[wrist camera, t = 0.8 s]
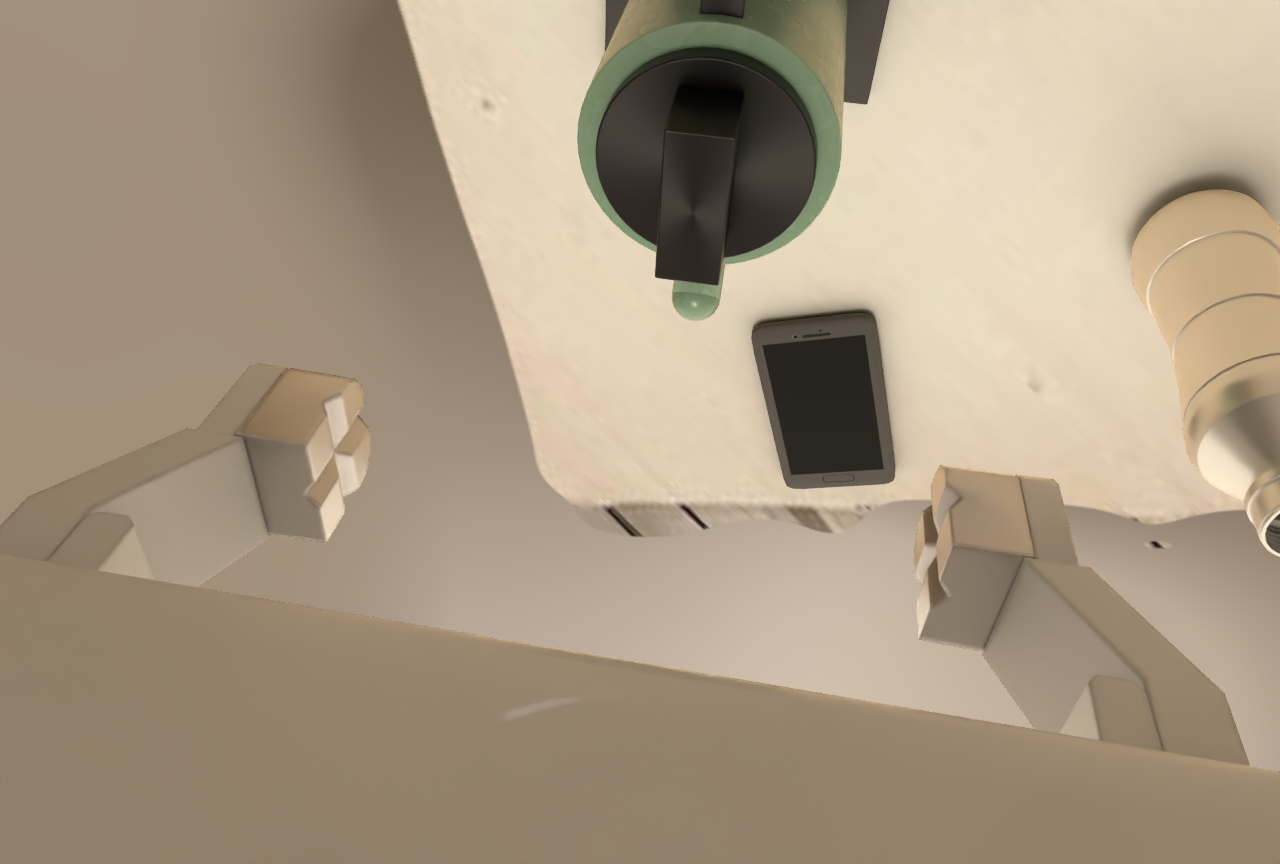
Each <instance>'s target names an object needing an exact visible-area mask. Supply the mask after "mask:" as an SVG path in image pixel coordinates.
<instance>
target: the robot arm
mask: <svg viewBox="0 0 1280 864" xmlns="http://www.w3.org/2000/svg"><path fill="white" fill-rule="evenodd" d="M364 404H365V400H364V394H363V389H362V384H361V383H359V382H358V381H357V380H356V379H353V378H346V377H341V376H335V375H329V374H323V373H317V372H311V371H305V370H300V369H294V368H290V369H288V368H285V367H278V366H272V365H266V364H261V363H258V364H255V365H252V366H249V367H248V368H247V370H246V371H245V372H244V373H243V374H242V376H241V377H240V378H239V380H237V382H236V383H235V384H234V385H233V387H232V388H231V389H230V390H229V391H228V393H227V394H226V395H225V396H224V397H223V399H222V400H221V401H220V402H219V403H218V405H217V406H216V407H215V408H214V409H213V411H212V412H211V413H210V414H209V415H208V417H207V418H206V419H205V420H204V422H203V423H202V424H201V425H200V426H199V427H198V429H197V430H194V429H188V428H186V429H184V430H182V431H179V432H177V433H175V434H173V435H170V436H168V437H166V438H163V439H161V440H159V441H156V442H154V443H152V444H150V445H147V446H145V447H142V448H140V449H138V450H135V451H133V452H131V453H128V454H126V455H124V456H121V457H119V458H117V459H114V460H112V461H110V462H107V463H105V464H103V465H101V466H98V467H96V468H94V469H91V470H89V471H87V472H84V473H82V474H80V475H77V476H75V477H73V478H70V479H68V480H66V481H63V482H61V483H59V484H57V485H54V486H52V487H49V488H48V489H45V490H42V491H40V492H38V493H36V494H33V495H31V496H29V497H27V498H26V499H25V501H23V502H22V503H21V504H20V506H19V507H18V508H17V509H16V510H15V511H14V512H13V513H12V514H11V515H10V516H9V517H8V518H7V519H6V520H5V521H4V522H3V523H2V524H1V525H0V864H1280V771H1277V770H1272V769H1265V768H1259V767H1253V766H1250V764H1249V762H1248V759H1247V756H1246V753H1245V750H1244V747H1243V744H1242V742H1241V739H1240V736H1239V733H1238V730H1237V727H1236V724H1235V722H1234V719H1233V716H1232V713H1231V710H1230V707H1229V705H1228V702H1227V699H1226V696H1225V694H1224V693H1223V692H1222V691H1221V690H1220V689H1219V688H1218V687H1217V686H1216V685H1215V684H1214V683H1213V682H1212V681H1211V680H1210V679H1209V678H1207V677H1206V676H1205V675H1204V674H1203V673H1202V672H1201V671H1200V670H1199V669H1198V668H1197V667H1196V666H1195V665H1194V664H1192V663H1191V662H1190V661H1189V660H1188V659H1187V658H1186V657H1185V656H1184V655H1183V654H1182V653H1181V652H1180V651H1179V650H1178V649H1177V648H1175V647H1174V646H1173V645H1172V644H1171V643H1170V642H1169V641H1168V640H1167V639H1166V638H1165V637H1164V636H1163V635H1162V634H1161V633H1160V632H1158V631H1157V630H1156V629H1155V628H1154V627H1153V626H1152V625H1151V624H1150V623H1149V622H1148V621H1147V620H1146V619H1145V618H1144V617H1142V616H1141V615H1140V614H1139V613H1138V612H1137V611H1136V610H1135V609H1134V608H1133V607H1132V606H1131V605H1129V603H1128V602H1126V601H1125V600H1124V599H1123V598H1122V597H1121V596H1120V595H1119V594H1118V593H1117V592H1116V591H1115V590H1114V589H1113V588H1112V587H1110V586H1109V585H1108V584H1107V583H1106V582H1105V581H1104V580H1103V579H1102V578H1101V577H1100V576H1099V575H1098V574H1097V573H1095V572H1094V571H1093V570H1092V569H1091V568H1090V567H1084V566H1079V563H1078V559H1077V555H1076V551H1075V547H1074V543H1073V539H1072V535H1071V532H1070V527H1069V523H1068V519H1067V516H1066V512H1065V507H1064V504H1063V500H1062V496H1061V492H1060V488H1059V484H1058V483H1057V482H1056V481H1055V480H1054V479H1046V478H1038V477H1030V476H1022V475H1015V476H1013V475H1007V474H1000V473H992V472H985V471H978V470H971V469H964V468H957V467H950V466H943V465H940V466H939V468H938V470H937V471H936V473H935V476H934V479H933V482H932V485H931V496H932V505H931V506H930V507H928V508H927V509H925V510H924V511H923V512H922V516H921V519H920V523H919V526H918V529H917V535H916V541H915V547H914V577H915V578H916V579H917V581H918V582H919V583H920V584H921V585H922V586H921V589H920V592H919V595H918V598H917V601H916V608H917V620H918V634H919V640H923V641H929V642H934V643H939V644H944V645H949V646H955V647H960V648H965V649H971V650H976V651H981V652H983V654H982V655H983V656H984V658H985V659H986V661H987V662H988V664H989V665H990V667H991V668H992V669H993V671H994V672H995V674H996V675H997V676H998V678H999V679H1000V681H1001V682H1002V683H1003V685H1004V686H1005V688H1006V689H1007V691H1008V692H1009V693H1010V695H1011V696H1012V698H1013V699H1014V700H1015V702H1016V703H1017V705H1018V706H1019V708H1020V709H1021V710H1022V712H1023V713H1024V715H1025V716H1026V717H1027V719H1028V720H1029V722H1030V723H1031V724H1032V726H1033V727H1034V729H1030V728H1024V727H1018V726H1012V725H1006V724H1001V723H994V722H989V721H983V720H977V719H971V718H965V717H959V716H953V715H947V714H942V713H935V712H929V711H923V710H917V709H911V708H905V707H899V706H893V705H887V704H881V703H875V702H869V701H863V700H858V699H852V698H845V697H839V696H834V695H828V694H822V693H817V692H811V691H805V690H799V689H793V688H787V687H781V686H776V685H770V684H764V683H758V682H752V681H746V680H740V679H735V678H729V677H723V676H717V675H711V674H705V673H700V672H694V671H688V670H682V669H676V668H671V667H664V666H659V665H653V664H647V663H641V662H635V661H629V660H623V659H617V658H612V657H606V656H600V655H594V654H588V653H581V652H576V651H570V650H564V649H558V648H552V647H546V646H540V645H534V644H528V643H523V642H517V641H511V640H505V639H499V638H493V637H486V636H481V635H475V634H468V633H463V632H457V631H451V630H445V629H439V628H434V627H428V626H421V625H416V624H410V623H404V622H398V621H392V620H386V619H381V618H375V617H369V616H363V615H357V614H351V613H345V612H339V611H334V610H328V609H322V608H316V607H310V606H304V605H298V604H292V603H286V602H280V601H275V600H269V599H263V598H257V597H251V596H245V595H239V594H234V593H228V592H221V591H216V590H210V589H204V588H198V586H199V585H201V584H202V583H204V582H205V581H207V580H208V579H210V578H211V577H213V576H214V575H216V574H217V573H219V572H220V571H221V570H223V569H224V568H226V567H227V566H229V565H230V564H232V563H233V562H235V561H236V560H237V559H239V558H241V557H242V556H244V555H245V554H247V553H248V552H250V551H251V550H252V549H254V548H255V547H257V546H258V545H260V544H261V543H263V542H264V541H266V540H267V539H269V535H271V536H279V537H286V538H293V539H302V540H309V541H316V542H324V543H327V541H328V539H329V538H330V536H331V534H332V533H333V531H334V529H335V527H336V526H337V524H338V522H339V521H340V519H341V517H342V516H343V514H344V512H345V506H344V501H343V497H345V496H346V495H348V494H350V493H352V492H354V491H355V490H357V489H358V488H359V486H360V484H361V482H362V480H363V479H364V477H365V475H366V471H367V467H368V463H369V460H370V451H371V439H370V431H369V427H368V426H367V424H366V423H365V422H364V421H363V420H362V419H361V418H360V417H359V415H358V414H359V412H360V410H361V409H362V407H363V406H364Z"/></svg>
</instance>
